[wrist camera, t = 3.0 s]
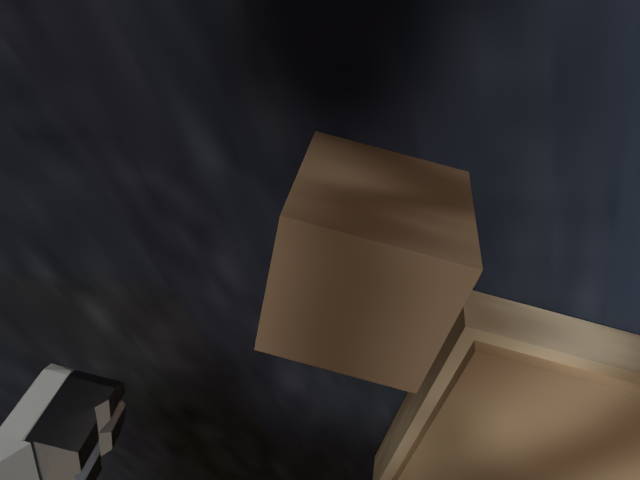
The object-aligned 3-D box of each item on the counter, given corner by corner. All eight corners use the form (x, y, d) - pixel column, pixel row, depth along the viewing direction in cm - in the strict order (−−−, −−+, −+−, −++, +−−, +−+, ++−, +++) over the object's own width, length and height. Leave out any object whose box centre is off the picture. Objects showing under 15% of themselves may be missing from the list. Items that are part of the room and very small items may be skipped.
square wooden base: (780, 373, 19) (822, 433, 17) (603, 518, 26) (618, 572, 24) (462, 287, 19) (466, 337, 17) (374, 455, 26) (370, 504, 24)
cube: (468, 170, 16) (482, 270, 12) (418, 284, 19) (416, 394, 15) (315, 129, 16) (280, 215, 12) (289, 249, 19) (253, 349, 15)
